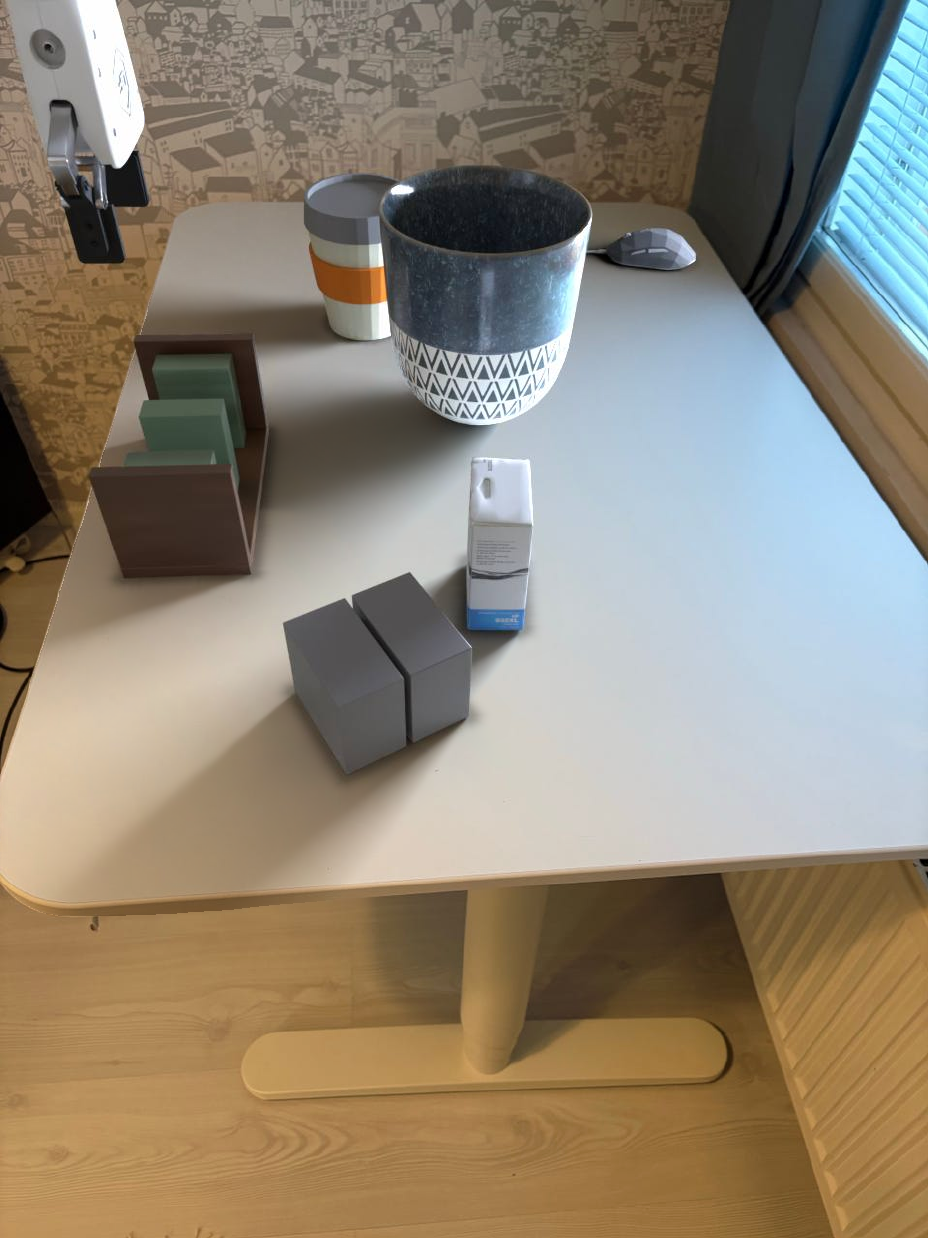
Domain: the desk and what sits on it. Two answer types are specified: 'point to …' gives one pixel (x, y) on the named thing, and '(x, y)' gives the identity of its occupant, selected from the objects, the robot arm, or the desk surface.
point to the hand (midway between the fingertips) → (116, 232)
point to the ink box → (498, 543)
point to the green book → (189, 427)
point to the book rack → (190, 466)
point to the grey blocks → (379, 670)
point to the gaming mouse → (650, 249)
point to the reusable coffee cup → (349, 252)
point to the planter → (482, 285)
